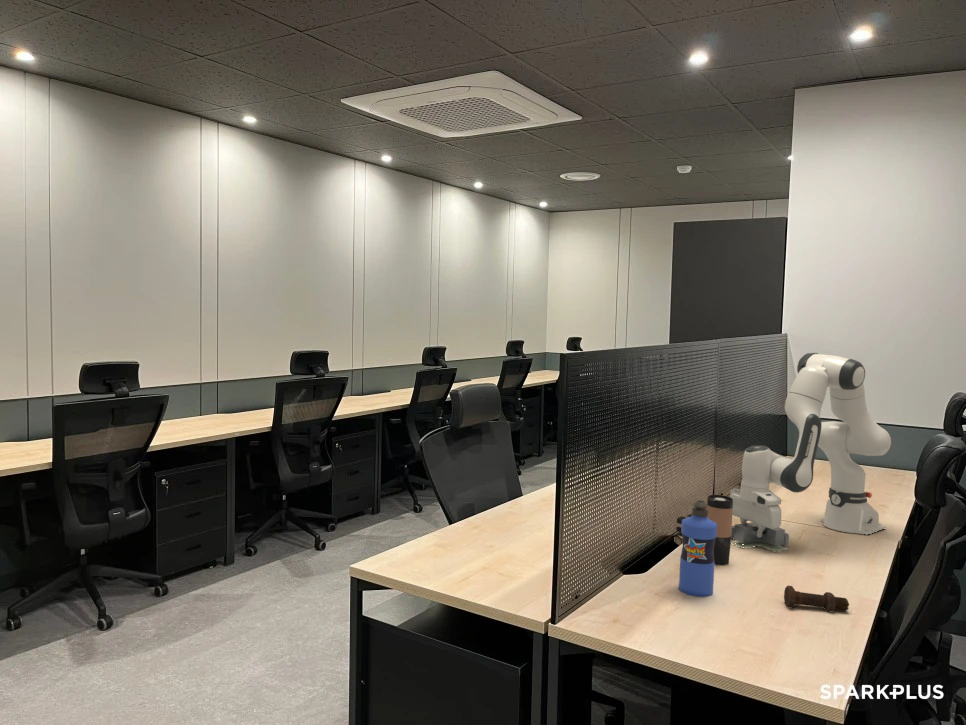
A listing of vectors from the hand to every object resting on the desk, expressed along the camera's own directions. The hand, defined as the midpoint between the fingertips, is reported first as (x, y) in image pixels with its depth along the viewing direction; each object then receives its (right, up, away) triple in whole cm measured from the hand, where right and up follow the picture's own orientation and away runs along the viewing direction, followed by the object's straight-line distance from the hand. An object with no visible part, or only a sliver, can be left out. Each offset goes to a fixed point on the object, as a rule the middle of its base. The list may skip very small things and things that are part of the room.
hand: (752, 534), depth 232 cm
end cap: (-18, -3, +7) cm, 20 cm away
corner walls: (+1, -3, +2) cm, 4 cm away
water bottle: (-32, -5, -42) cm, 53 cm away
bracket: (+1, -2, -3) cm, 3 cm away
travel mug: (-18, -4, -18) cm, 26 cm away
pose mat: (+1, -3, -2) cm, 4 cm away
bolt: (-3, -7, -52) cm, 52 cm away
